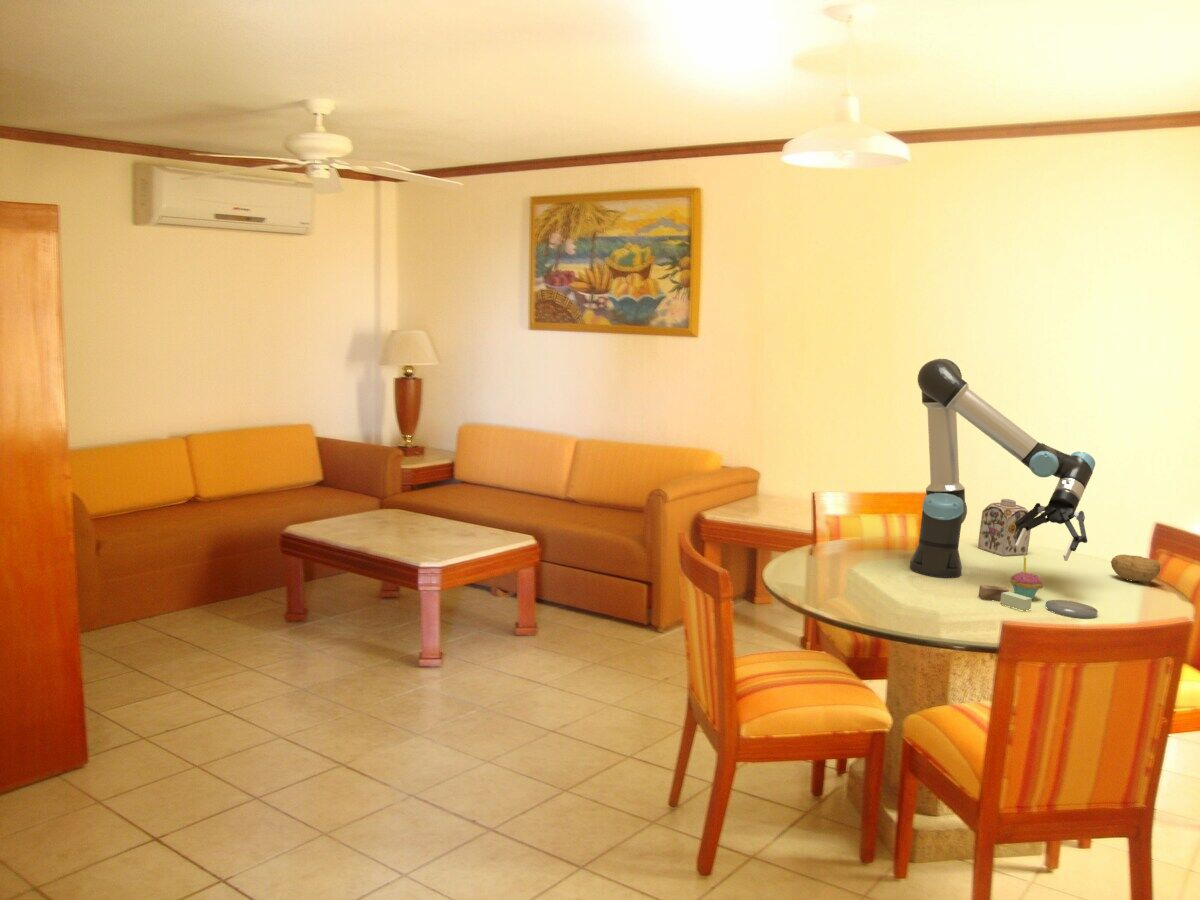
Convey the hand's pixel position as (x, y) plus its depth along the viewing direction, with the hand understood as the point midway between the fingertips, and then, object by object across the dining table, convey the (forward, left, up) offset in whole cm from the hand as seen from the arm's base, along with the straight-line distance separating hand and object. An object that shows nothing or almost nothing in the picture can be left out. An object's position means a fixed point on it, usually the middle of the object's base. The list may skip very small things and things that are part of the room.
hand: (1040, 553), depth 294 cm
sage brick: (-5, -20, -12) cm, 24 cm away
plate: (+9, -14, -12) cm, 21 cm away
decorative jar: (-12, +52, -12) cm, 55 cm away
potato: (+27, +37, -12) cm, 48 cm away
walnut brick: (-11, -15, -12) cm, 22 cm away
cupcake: (-3, -7, -12) cm, 14 cm away
